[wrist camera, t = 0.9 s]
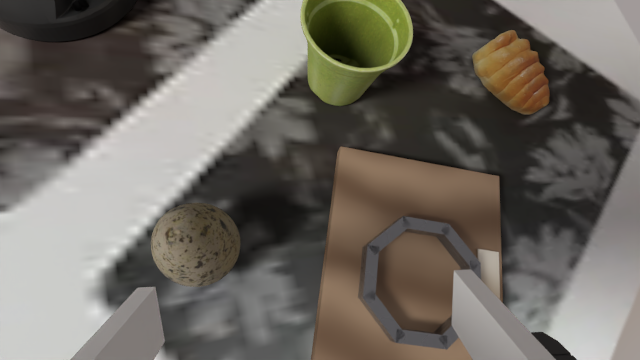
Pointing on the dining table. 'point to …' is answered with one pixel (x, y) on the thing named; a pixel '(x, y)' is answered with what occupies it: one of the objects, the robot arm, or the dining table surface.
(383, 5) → the plant pot
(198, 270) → the decorative egg
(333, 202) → the walnut board
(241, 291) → the dining table surface
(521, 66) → the pastry
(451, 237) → the ring socket
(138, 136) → the dining table surface
